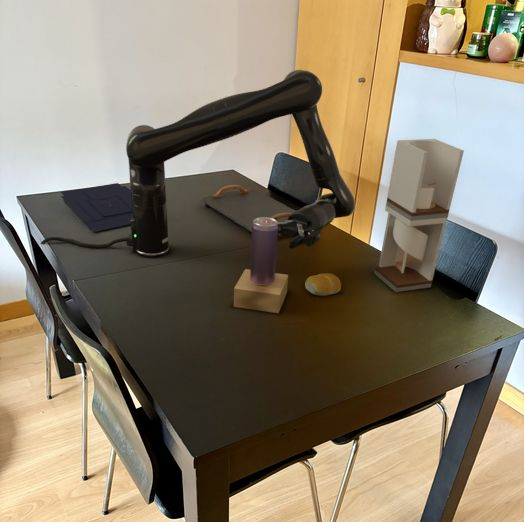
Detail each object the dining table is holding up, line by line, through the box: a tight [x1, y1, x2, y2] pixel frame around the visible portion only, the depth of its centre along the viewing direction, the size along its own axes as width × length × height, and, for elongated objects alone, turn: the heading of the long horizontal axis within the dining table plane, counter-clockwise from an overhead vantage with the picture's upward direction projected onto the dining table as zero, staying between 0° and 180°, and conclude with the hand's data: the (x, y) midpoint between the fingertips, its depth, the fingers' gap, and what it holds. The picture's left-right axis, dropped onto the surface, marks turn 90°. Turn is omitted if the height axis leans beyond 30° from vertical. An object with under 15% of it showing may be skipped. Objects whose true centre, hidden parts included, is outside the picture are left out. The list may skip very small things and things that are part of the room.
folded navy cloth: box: [60, 182, 133, 233], centre depth 179 cm, size 24×30×4 cm
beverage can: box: [249, 217, 279, 286], centre depth 128 cm, size 6×6×15 cm
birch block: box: [233, 268, 289, 314], centre depth 133 cm, size 11×11×5 cm
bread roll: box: [304, 272, 342, 297], centre depth 140 cm, size 8×9×4 cm
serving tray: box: [201, 184, 297, 233], centre depth 180 cm, size 39×23×6 cm, turn 34°
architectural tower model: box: [373, 138, 465, 293], centre depth 137 cm, size 11×11×35 cm
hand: (275, 240), depth 131 cm, fingers open, 8 cm apart
